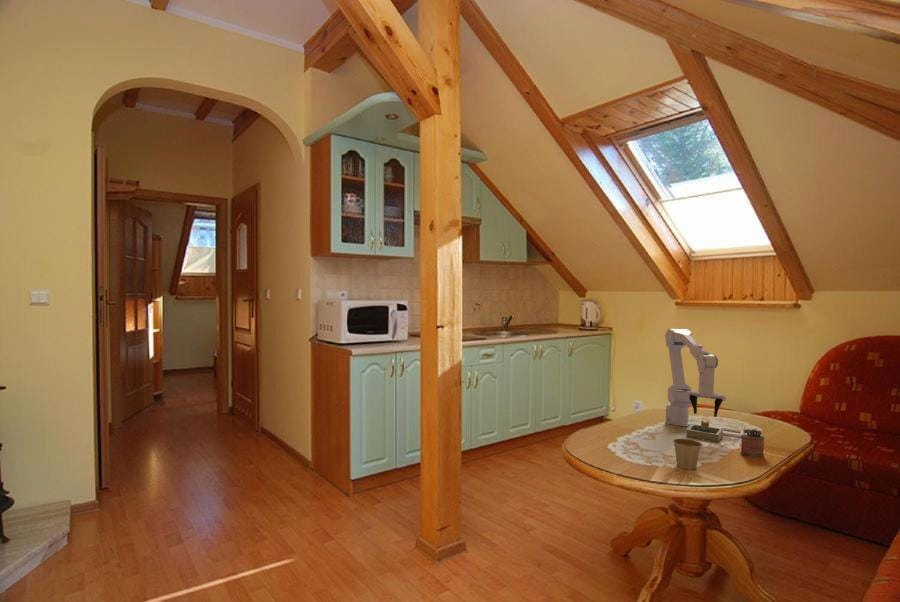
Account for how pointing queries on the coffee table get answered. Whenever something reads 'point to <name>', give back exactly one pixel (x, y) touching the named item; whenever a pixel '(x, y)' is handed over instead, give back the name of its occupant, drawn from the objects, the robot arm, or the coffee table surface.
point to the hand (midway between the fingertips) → (705, 415)
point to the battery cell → (704, 426)
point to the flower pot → (687, 453)
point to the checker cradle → (732, 433)
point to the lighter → (752, 443)
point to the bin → (704, 433)
